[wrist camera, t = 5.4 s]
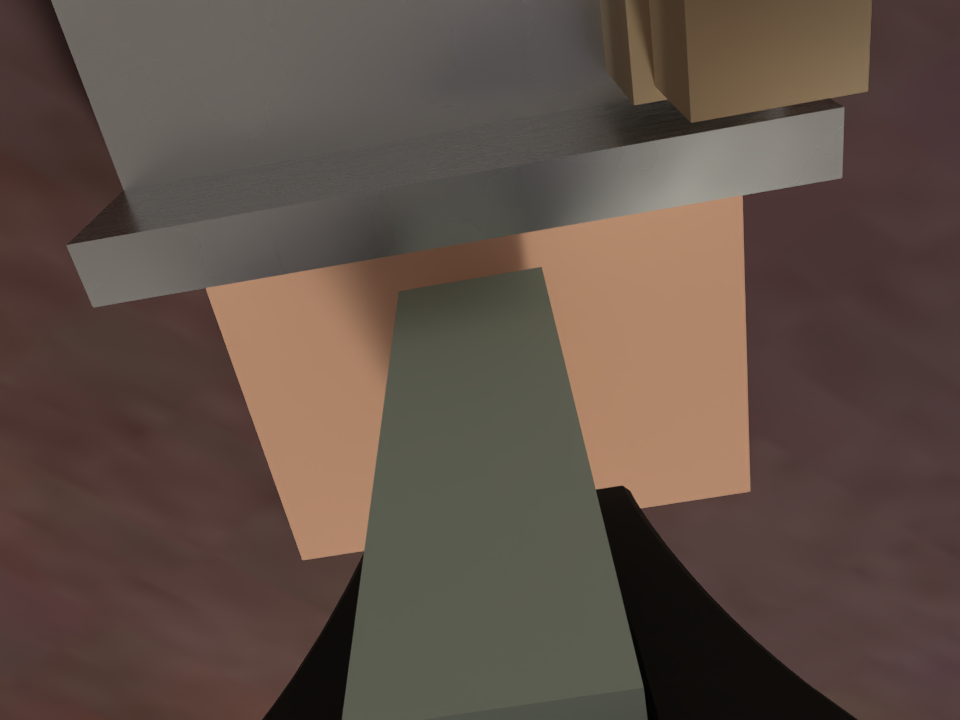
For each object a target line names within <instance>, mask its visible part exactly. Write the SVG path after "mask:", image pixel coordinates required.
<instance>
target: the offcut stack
mask: <svg viewBox="0 0 960 720" xmlns="http://www.w3.org/2000/svg"><path fill="white" fill-rule="evenodd" d="M600 10H601V20H602V30H603V40H604V51H605V61H606V71H607V73H608V74H609V75H610V76H611V77H612V79H613V80H614V81H615V82H616V84H617V85H618V86H619V87H620V89H621V90H622V91H623V92H624V94H625V95H626V96H627V97H628V98H629V100H630V101H631V102H632V103H633V105H639V104H645V103H651V102H656V101H662V100H667V99H668V100H669V101H670V102H671V103H672V104H673V105H674V106H675V107H676V108H677V109H678V110H679V111H680V112H681V113H682V114H683V115H684V116H685V117H686V118H687V119H688V120H689V121H690V122H691V123H694V122H699V121H705V120H710V119H716V118H722V117H727V116H733V115H738V114H744V113H750V112H755V111H761V110H766V109H772V108H778V107H783V106H789V105H795V104H800V103H806V102H811V101H817V100H823V99H828V98H834V97H839V96H845V95H851V94H856V93H862V92H868V79H869V56H870V33H871V10H872V0H600Z"/></svg>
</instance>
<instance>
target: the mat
mask: <svg viewBox="0 0 960 720" xmlns="http://www.w3.org/2000/svg"><path fill="white" fill-rule="evenodd" d="M538 267H542V270H543V274H544V278H545V283H546V287H547V291H548V295H549V299H550V303H551V307H552V311H553V316H554V320H555V324H556V328H557V332H558V336H559V340H560V344H561V348H562V353H563V357H564V361H565V365H566V369H567V373H568V377H569V381H570V386H571V390H572V394H573V398H574V402H575V406H576V410H577V414H578V419H579V423H580V427H581V431H582V435H583V439H584V443H585V447H586V452H587V456H588V460H589V464H590V468H591V472H592V476H593V480H594V484H595V489H603V488H609V487H615V486H624V487H625V488H627V489H628V490H630V491H631V493H632V495H633V497H634V499H635V500H636V502H637V504H638V505H639V507H640V508H646V507H653V506H659V505H666V504H672V503H679V502H685V501H692V500H698V499H705V498H711V497H718V496H724V495H731V494H737V493H744V492H750V459H749V422H748V384H747V347H746V309H745V272H744V234H743V197H742V195H741V196H735V197H729V198H724V199H718V200H712V201H706V202H700V203H695V204H689V205H683V206H677V207H671V208H666V209H660V210H654V211H648V212H643V213H637V214H631V215H625V216H619V217H614V218H608V219H602V220H596V221H590V222H585V223H579V224H573V225H567V226H562V227H556V228H550V229H544V230H538V231H533V232H527V233H521V234H515V235H509V236H504V237H498V238H492V239H486V240H481V241H475V242H469V243H463V244H457V245H452V246H446V247H440V248H434V249H428V250H423V251H417V252H411V253H405V254H400V255H394V256H388V257H382V258H376V259H371V260H365V261H359V262H353V263H347V264H342V265H336V266H330V267H324V268H319V269H313V270H307V271H301V272H295V273H290V274H284V275H278V276H272V277H266V278H261V279H255V280H249V281H243V282H238V283H232V284H226V285H220V286H214V287H209V288H206V291H207V293H208V296H209V299H210V302H211V305H212V307H213V310H214V313H215V316H216V319H217V321H218V324H219V327H220V330H221V333H222V335H223V338H224V341H225V344H226V347H227V350H228V352H229V355H230V358H231V361H232V364H233V366H234V369H235V372H236V375H237V378H238V380H239V383H240V386H241V389H242V392H243V394H244V397H245V400H246V403H247V406H248V409H249V411H250V414H251V417H252V420H253V423H254V425H255V428H256V431H257V434H258V437H259V439H260V442H261V445H262V448H263V451H264V453H265V456H266V459H267V462H268V465H269V468H270V470H271V473H272V476H273V479H274V482H275V484H276V487H277V490H278V493H279V496H280V498H281V501H282V504H283V507H284V510H285V512H286V515H287V518H288V521H289V524H290V526H291V529H292V532H293V535H294V538H295V541H296V543H297V546H298V549H299V552H300V555H301V557H302V560H307V559H314V558H321V557H327V556H334V555H340V554H347V553H353V552H360V551H364V549H365V542H366V534H367V527H368V519H369V512H370V504H371V496H372V489H373V481H374V474H375V466H376V459H377V451H378V444H379V436H380V429H381V421H382V414H383V406H384V399H385V391H386V384H387V376H388V369H389V361H390V354H391V346H392V338H393V331H394V323H395V316H396V308H397V301H398V293H399V291H404V290H410V289H415V288H421V287H427V286H433V285H439V284H445V283H450V282H456V281H462V280H468V279H474V278H480V277H485V276H491V275H497V274H503V273H509V272H514V271H520V270H526V269H532V268H538Z"/></svg>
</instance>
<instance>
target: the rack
mask: <svg viewBox="0 0 960 720" xmlns="http://www.w3.org/2000/svg"><path fill="white" fill-rule="evenodd" d="M51 2H52V4H53V7H54V9H55V12H56V15H57V17H58V20H59V22H60V25H61V28H62V30H63V33H64V35H65V38H66V41H67V43H68V46H69V49H70V51H71V54H72V56H73V59H74V62H75V64H76V67H77V69H78V72H79V75H80V77H81V80H82V82H83V85H84V88H85V90H86V93H87V96H88V98H89V101H90V103H91V106H92V109H93V111H94V114H95V116H96V119H97V122H98V124H99V127H100V129H101V132H102V135H103V137H104V140H105V142H106V145H107V148H108V150H109V153H110V156H111V158H112V161H113V163H114V166H115V169H116V171H117V174H118V176H119V179H120V182H121V184H122V187H123V189H124V191H123V192H122V193H121V194H120V195H118V196H117V197H116V198H115V199H114V200H113V201H112V202H111V203H110V204H109V205H108V206H107V207H106V208H105V209H104V210H103V211H102V212H101V213H100V214H98V215H97V216H96V217H95V218H94V219H93V220H92V221H91V222H90V223H89V224H88V225H87V226H86V227H85V228H84V229H83V230H82V231H81V232H80V233H78V234H77V235H76V236H75V237H74V238H73V239H72V240H71V241H70V242H69V243H68V244H67V245H66V246H67V248H68V250H69V253H70V255H71V257H72V260H73V262H74V264H75V266H76V269H77V271H78V273H79V276H80V278H81V280H82V283H83V285H84V287H85V290H86V292H87V294H88V297H89V299H90V301H91V304H92V306H93V307H99V306H104V305H110V304H116V303H122V302H128V301H133V300H139V299H145V298H151V297H157V296H162V295H168V294H174V293H180V292H185V291H191V290H197V289H203V288H209V287H214V286H220V285H226V284H232V283H238V282H243V281H249V280H255V279H261V278H266V277H272V276H278V275H284V274H290V273H295V272H301V271H307V270H313V269H319V268H324V267H330V266H336V265H342V264H347V263H353V262H359V261H365V260H371V259H376V258H382V257H388V256H394V255H400V254H405V253H411V252H417V251H423V250H428V249H434V248H440V247H446V246H452V245H457V244H463V243H469V242H475V241H481V240H486V239H492V238H498V237H504V236H509V235H515V234H521V233H527V232H533V231H538V230H544V229H550V228H556V227H562V226H567V225H573V224H579V223H585V222H590V221H596V220H602V219H608V218H614V217H619V216H625V215H631V214H637V213H643V212H648V211H654V210H660V209H666V208H671V207H677V206H683V205H689V204H695V203H700V202H706V201H712V200H718V199H724V198H729V197H735V196H741V195H747V194H752V193H758V192H764V191H770V190H776V189H781V188H787V187H793V186H799V185H804V184H810V183H816V182H822V181H828V180H833V179H839V178H842V167H843V134H844V107H843V106H842V105H840V104H838V103H836V102H835V101H833V100H831V99H830V98H828V99H823V100H817V101H811V102H806V103H800V104H795V105H789V106H783V107H778V108H772V109H766V110H761V111H755V112H750V113H744V114H738V115H733V116H727V117H722V118H716V119H710V120H705V121H699V122H694V123H691V122H690V121H689V120H688V119H687V118H686V117H685V116H684V115H683V114H682V113H681V112H680V111H679V110H678V109H677V108H676V107H675V106H674V105H673V104H672V103H671V102H670V101H669V100H668V99H667V100H662V101H656V102H651V103H645V104H639V105H633V103H632V102H631V101H630V100H629V98H628V97H627V96H626V95H625V94H624V92H623V91H622V90H621V89H620V87H619V86H618V85H617V84H616V82H615V81H614V80H613V79H612V77H611V76H610V75H609V74H608V73H607V71H606V61H605V51H604V40H603V30H602V20H601V10H600V0H51Z"/></svg>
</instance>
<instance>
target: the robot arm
mask: <svg viewBox="0 0 960 720" xmlns="http://www.w3.org/2000/svg"><path fill="white" fill-rule="evenodd" d="M596 493H597V497H598V501H599V505H600V509H601V513H602V517H603V522H604V526H605V530H606V534H607V538H608V542H609V546H610V550H611V555H612V559H613V563H614V567H615V571H616V575H617V579H618V583H619V588H620V592H621V596H622V600H623V604H624V608H625V612H626V616H627V620H628V625H629V629H630V633H631V637H632V641H633V645H634V649H635V653H636V658H637V662H638V666H639V670H640V674H641V678H642V682H643V686H644V694H645V702H646V710H647V719H648V720H857V719H856V718H855V717H853V716H852V715H850V714H849V713H848V712H846V711H845V710H843V709H842V708H841V707H839V706H838V705H836V704H835V703H834V702H832V701H831V700H830V699H828V698H827V697H825V696H824V695H823V694H821V693H820V692H818V691H817V690H816V689H814V688H813V687H811V686H810V685H809V684H807V683H806V682H805V681H804V680H802V679H801V678H800V677H799V676H797V675H796V674H795V673H794V672H793V671H791V670H790V669H789V668H788V667H786V666H785V665H784V664H783V663H781V662H780V661H779V660H778V659H777V658H775V657H774V656H773V655H772V654H771V653H770V652H769V651H767V650H766V649H765V648H764V647H763V646H762V645H761V644H759V643H758V642H757V641H756V640H755V639H754V638H753V637H752V636H751V635H749V634H748V633H747V632H746V631H745V630H744V629H743V628H742V627H741V626H740V625H739V624H738V623H737V622H736V621H735V620H734V619H733V618H732V617H731V616H730V615H729V614H728V613H727V612H726V611H725V610H724V609H723V608H722V607H721V606H720V605H719V604H718V603H717V602H716V601H715V600H714V599H713V598H712V597H711V596H710V595H709V594H708V593H707V592H706V590H705V589H704V588H703V587H702V586H701V585H700V584H699V583H698V582H697V581H696V580H695V578H694V577H693V576H692V575H691V574H690V572H689V571H688V570H687V569H686V568H685V567H684V565H683V564H682V563H681V562H680V561H679V560H678V558H677V557H676V556H675V555H674V554H673V552H672V551H671V550H670V549H669V547H668V546H667V545H666V544H665V542H664V541H663V540H662V538H661V537H660V536H659V534H658V533H657V532H656V530H655V529H654V528H653V526H652V525H651V523H650V522H649V521H648V519H647V518H646V516H645V515H644V513H643V512H642V510H641V509H640V507H639V505H638V504H637V502H636V500H635V499H634V497H633V495H632V493H631V491H630V490H628V489H627V488H625V487H624V486H615V487H609V488H603V489H596ZM363 557H364V554H363V556H362V558H361V560H360V562H359V564H358V566H357V568H356V570H355V572H354V574H353V576H352V578H351V580H350V582H349V583H348V585H347V587H346V589H345V591H344V593H343V595H342V597H341V598H340V600H339V602H338V604H337V606H336V607H335V609H334V611H333V613H332V615H331V616H330V618H329V620H328V622H327V623H326V625H325V627H324V629H323V630H322V632H321V634H320V635H319V637H318V639H317V640H316V642H315V643H314V645H313V646H312V648H311V650H310V651H309V653H308V654H307V656H306V658H305V659H304V661H303V662H302V664H301V665H300V667H299V669H298V670H297V672H296V673H295V675H294V676H293V678H292V679H291V681H290V682H289V684H288V685H287V686H286V688H285V689H284V691H283V692H282V694H281V695H280V696H279V698H278V699H277V701H276V702H275V703H274V705H273V706H272V707H271V709H270V710H269V711H268V713H267V714H266V715H265V717H264V718H263V719H262V720H342V715H343V707H344V700H345V692H346V685H347V677H348V669H349V662H350V654H351V647H352V639H353V632H354V624H355V617H356V609H357V602H358V594H359V587H360V579H361V572H362V564H363Z"/></svg>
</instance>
